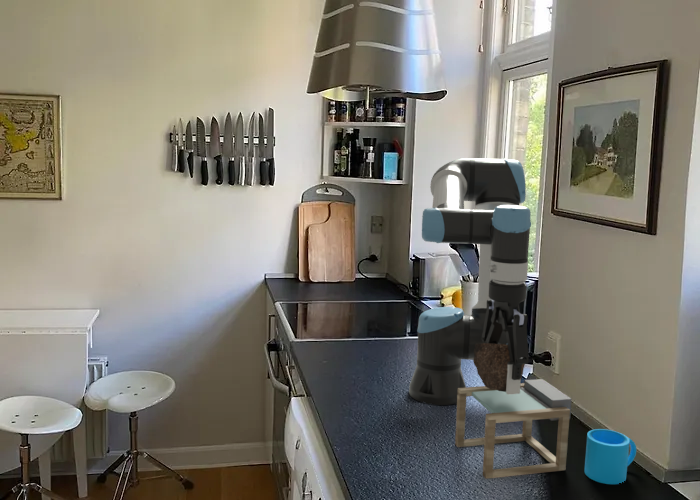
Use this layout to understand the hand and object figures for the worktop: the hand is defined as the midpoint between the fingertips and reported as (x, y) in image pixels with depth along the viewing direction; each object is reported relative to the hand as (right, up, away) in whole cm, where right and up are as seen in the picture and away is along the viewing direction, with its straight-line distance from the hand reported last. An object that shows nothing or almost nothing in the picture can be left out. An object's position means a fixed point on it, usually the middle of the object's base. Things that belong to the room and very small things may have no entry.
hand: (501, 384), depth 145 cm
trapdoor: (+4, -6, +2) cm, 8 cm away
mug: (+22, -18, -3) cm, 29 cm away
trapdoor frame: (+2, -16, +3) cm, 17 cm away
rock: (0, -1, 0) cm, 1 cm away
